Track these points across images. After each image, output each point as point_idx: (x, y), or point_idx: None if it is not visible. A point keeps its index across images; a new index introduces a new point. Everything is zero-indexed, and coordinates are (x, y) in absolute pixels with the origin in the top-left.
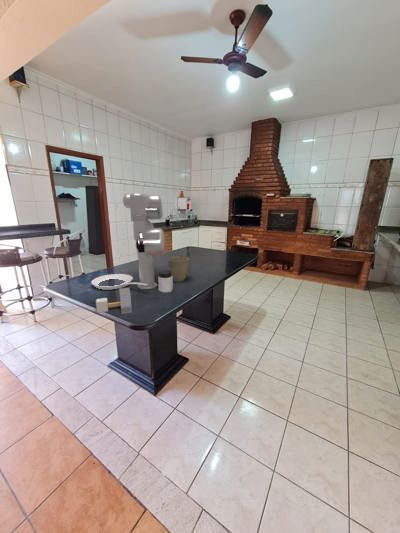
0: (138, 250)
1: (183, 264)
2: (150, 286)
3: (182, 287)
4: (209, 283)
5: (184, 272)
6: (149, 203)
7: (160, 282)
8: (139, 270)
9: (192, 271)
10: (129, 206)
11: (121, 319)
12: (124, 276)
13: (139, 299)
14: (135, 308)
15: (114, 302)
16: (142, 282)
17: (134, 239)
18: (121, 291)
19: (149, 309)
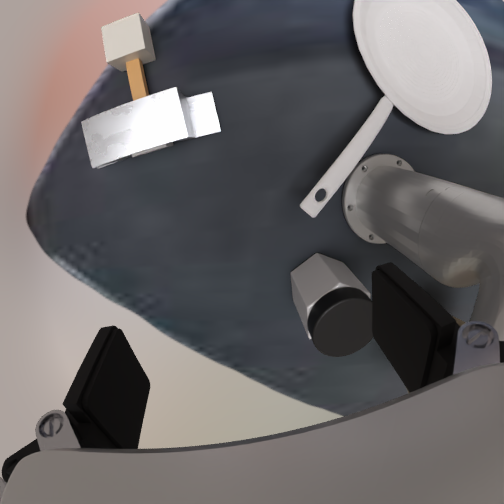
0: (94, 343)
1: (408, 392)
2: (358, 216)
3: None
4: (341, 406)
5: None
6: None
7: (316, 281)
8: (421, 181)
9: None
10: None
11: (57, 145)
12: (476, 100)
13: (224, 174)
14: (132, 173)
15: (142, 83)
16: (372, 183)
17: (216, 449)
18: (130, 111)
19: (123, 229)
